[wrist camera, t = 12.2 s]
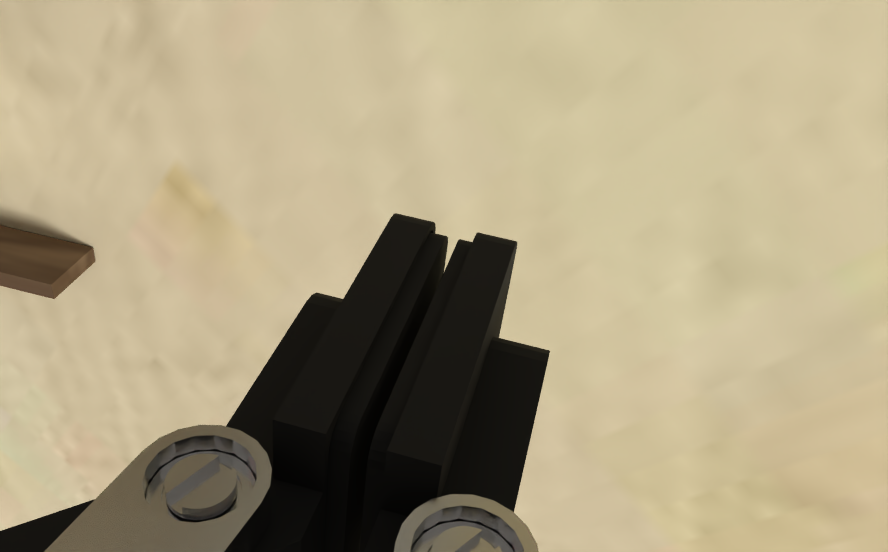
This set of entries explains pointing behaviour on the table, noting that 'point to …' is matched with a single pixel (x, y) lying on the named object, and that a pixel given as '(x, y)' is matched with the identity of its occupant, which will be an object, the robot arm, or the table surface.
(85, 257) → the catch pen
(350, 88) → the table surface
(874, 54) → the table surface
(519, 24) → the table surface
